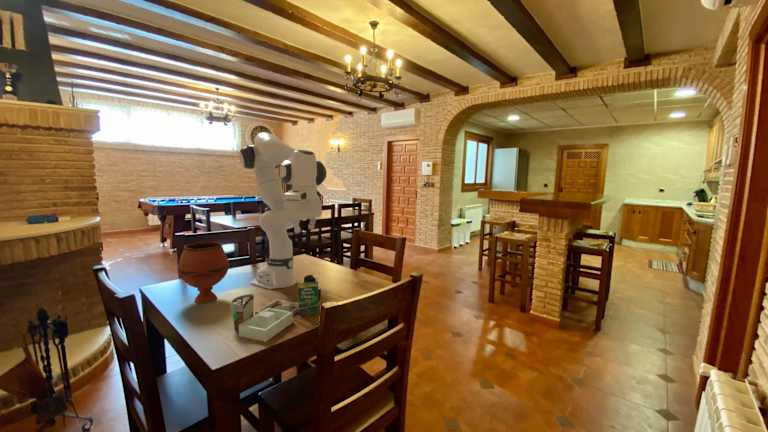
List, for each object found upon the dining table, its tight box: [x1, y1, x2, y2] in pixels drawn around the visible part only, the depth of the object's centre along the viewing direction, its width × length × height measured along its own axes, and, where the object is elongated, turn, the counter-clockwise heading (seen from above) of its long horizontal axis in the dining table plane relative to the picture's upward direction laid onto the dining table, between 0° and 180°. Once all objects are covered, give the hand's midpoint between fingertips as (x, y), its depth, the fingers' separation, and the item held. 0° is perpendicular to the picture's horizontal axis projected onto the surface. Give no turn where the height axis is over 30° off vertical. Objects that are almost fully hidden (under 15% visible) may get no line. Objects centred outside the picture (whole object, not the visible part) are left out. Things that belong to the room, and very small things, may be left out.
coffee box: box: [297, 281, 320, 316], centre depth 126 cm, size 8×3×13 cm, turn 94°
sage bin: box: [238, 307, 294, 343], centre depth 113 cm, size 11×16×4 cm
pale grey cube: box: [280, 303, 293, 312], centre depth 128 cm, size 4×4×4 cm
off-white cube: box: [259, 311, 275, 329], centre depth 113 cm, size 4×4×5 cm
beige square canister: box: [303, 274, 322, 305], centre depth 139 cm, size 7×7×12 cm
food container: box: [229, 293, 255, 332], centre depth 115 cm, size 12×6×10 cm, turn 5°
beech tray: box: [254, 299, 299, 316], centre depth 129 cm, size 14×14×2 cm
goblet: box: [177, 241, 230, 305], centre depth 137 cm, size 19×19×25 cm
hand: (304, 230), depth 118 cm, fingers open, 8 cm apart
